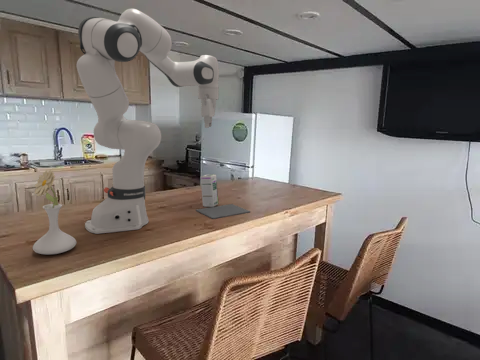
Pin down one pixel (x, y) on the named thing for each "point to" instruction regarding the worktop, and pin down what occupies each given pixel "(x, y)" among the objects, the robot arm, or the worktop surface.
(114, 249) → the worktop surface
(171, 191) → the worktop surface
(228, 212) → the rubber mat
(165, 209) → the worktop surface
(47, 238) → the flower in vase
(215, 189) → the syrup box
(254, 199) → the worktop surface
